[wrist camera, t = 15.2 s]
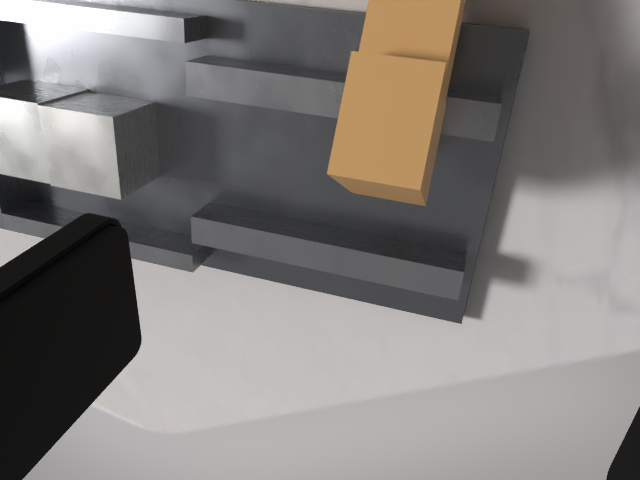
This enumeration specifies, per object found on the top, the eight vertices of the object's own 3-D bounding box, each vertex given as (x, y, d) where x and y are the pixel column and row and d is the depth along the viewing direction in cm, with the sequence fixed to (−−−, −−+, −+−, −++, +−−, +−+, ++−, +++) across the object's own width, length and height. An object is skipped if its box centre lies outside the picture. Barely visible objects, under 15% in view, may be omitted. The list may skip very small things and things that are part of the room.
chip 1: (22, 79, 29) (-33, 92, 26) (86, 89, 29) (37, 103, 26) (34, 151, 31) (-16, 170, 28) (95, 163, 30) (50, 184, 27)
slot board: (-17, -28, 28) (-66, -28, 26) (528, 29, 22) (531, 36, 20) (28, 218, 35) (-7, 237, 32) (462, 315, 29) (458, 346, 26)
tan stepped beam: (352, 192, 22) (410, -97, 22) (425, 206, 22) (486, -92, 22) (326, 173, 18) (401, -196, 18) (420, 190, 17) (498, -195, 17)
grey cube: (86, 91, 29) (37, 105, 26) (155, 101, 28) (112, 117, 25) (95, 164, 30) (50, 185, 27) (160, 176, 30) (121, 199, 26)
